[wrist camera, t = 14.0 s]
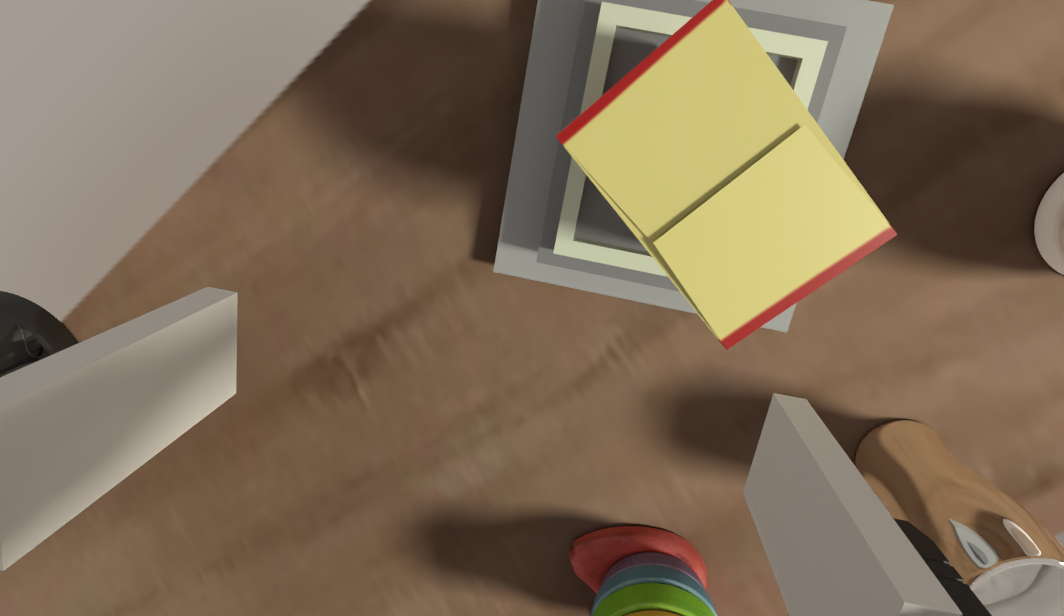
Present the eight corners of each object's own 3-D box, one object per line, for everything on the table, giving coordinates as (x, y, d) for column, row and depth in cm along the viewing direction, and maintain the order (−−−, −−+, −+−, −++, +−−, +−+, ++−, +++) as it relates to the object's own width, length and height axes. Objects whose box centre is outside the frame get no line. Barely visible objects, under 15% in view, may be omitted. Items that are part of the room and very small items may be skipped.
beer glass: (860, 509, 47) (967, 681, 32) (837, 428, 45) (939, 573, 31) (960, 485, 45) (1119, 656, 31) (940, 401, 44) (1098, 540, 29)
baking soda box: (580, 127, 35) (554, 136, 20) (675, 46, 34) (724, -11, 18) (681, 255, 37) (728, 353, 22) (778, 184, 35) (902, 237, 20)
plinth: (498, 265, 45) (481, 286, 39) (550, -46, 38) (538, -74, 33) (779, 323, 43) (804, 354, 38) (879, 10, 37) (927, -9, 31)
